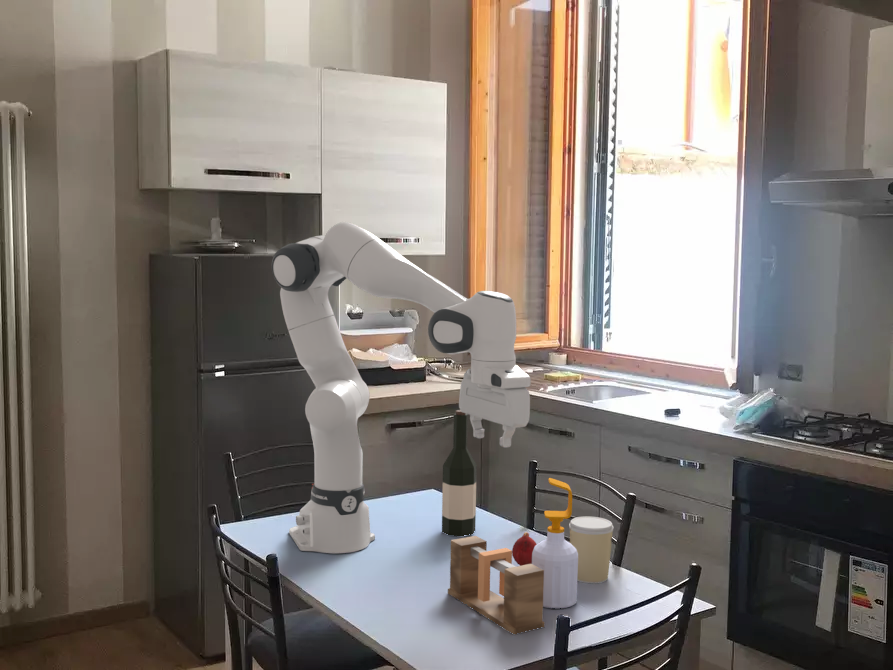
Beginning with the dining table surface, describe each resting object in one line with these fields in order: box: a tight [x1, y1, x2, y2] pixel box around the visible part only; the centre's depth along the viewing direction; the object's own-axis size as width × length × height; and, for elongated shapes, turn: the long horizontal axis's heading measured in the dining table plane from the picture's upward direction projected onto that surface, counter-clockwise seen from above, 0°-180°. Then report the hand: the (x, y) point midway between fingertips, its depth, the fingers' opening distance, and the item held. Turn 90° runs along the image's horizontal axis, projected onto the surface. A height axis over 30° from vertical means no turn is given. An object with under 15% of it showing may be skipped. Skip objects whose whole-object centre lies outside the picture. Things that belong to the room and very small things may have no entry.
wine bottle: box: [441, 409, 478, 537], centre depth 231 cm, size 8×8×30 cm
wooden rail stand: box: [447, 535, 546, 635], centre depth 183 cm, size 23×7×11 cm, turn 31°
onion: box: [512, 531, 538, 566], centre depth 207 cm, size 6×6×8 cm
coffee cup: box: [568, 515, 614, 584], centre depth 202 cm, size 9×9×12 cm
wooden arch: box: [478, 547, 513, 602], centre depth 183 cm, size 2×6×9 cm, turn 121°
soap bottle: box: [532, 477, 578, 610], centre depth 187 cm, size 9×9×25 cm
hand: (491, 442), depth 189 cm, fingers open, 8 cm apart
